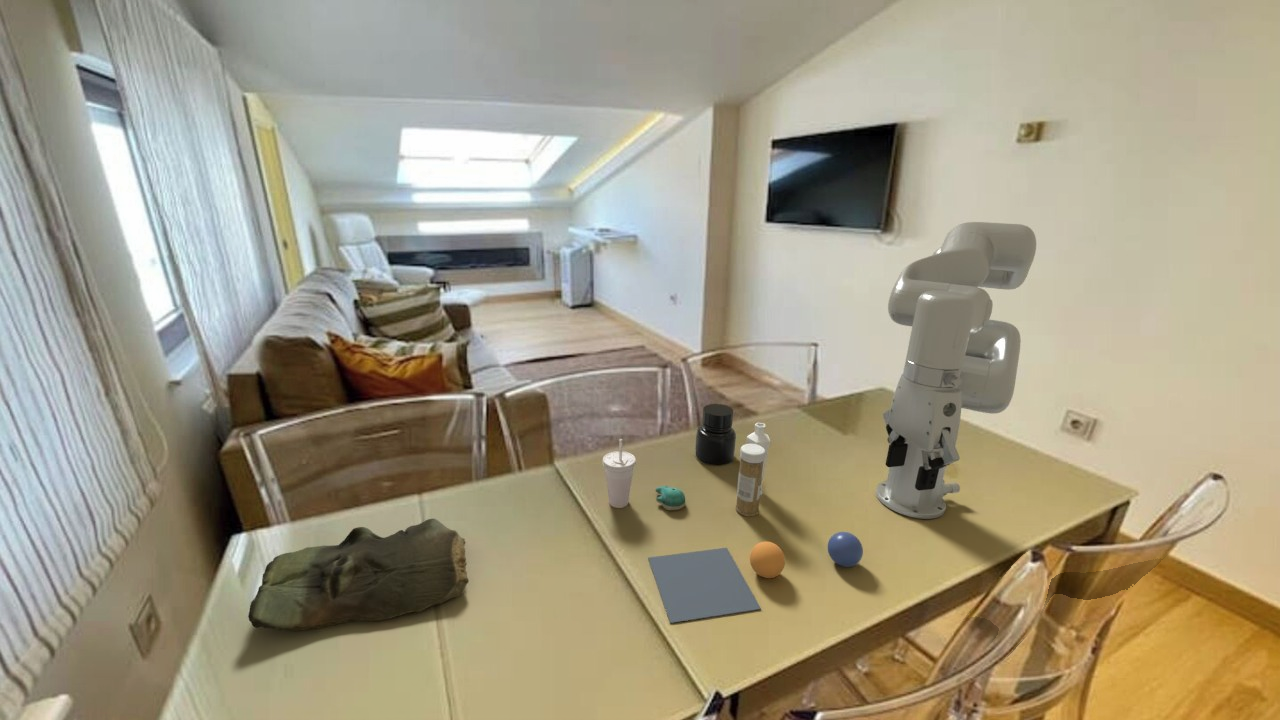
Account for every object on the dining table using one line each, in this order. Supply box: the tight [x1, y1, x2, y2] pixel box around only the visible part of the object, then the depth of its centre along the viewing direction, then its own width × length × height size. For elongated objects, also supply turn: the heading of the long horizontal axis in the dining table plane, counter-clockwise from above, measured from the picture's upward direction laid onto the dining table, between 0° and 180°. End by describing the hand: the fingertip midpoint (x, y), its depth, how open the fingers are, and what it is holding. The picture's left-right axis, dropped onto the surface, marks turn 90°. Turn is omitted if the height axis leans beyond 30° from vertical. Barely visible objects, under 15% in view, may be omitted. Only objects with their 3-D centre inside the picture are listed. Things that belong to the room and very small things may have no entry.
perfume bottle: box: [746, 422, 771, 496], centre depth 106 cm, size 5×4×15 cm
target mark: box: [647, 547, 762, 624], centre depth 83 cm, size 14×14×1 cm
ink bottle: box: [695, 403, 737, 466], centre depth 120 cm, size 10×9×12 cm
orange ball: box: [749, 541, 786, 579], centre depth 84 cm, size 6×6×6 cm
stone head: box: [247, 518, 470, 632], centre depth 81 cm, size 19×8×28 cm
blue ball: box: [827, 531, 864, 568], centre depth 87 cm, size 6×6×6 cm
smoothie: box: [602, 438, 637, 509], centre depth 101 cm, size 6×6×14 cm
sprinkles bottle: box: [735, 443, 765, 517], centre depth 100 cm, size 5×5×14 cm
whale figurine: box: [654, 485, 686, 511], centre depth 104 cm, size 6×7×4 cm
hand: (909, 476), depth 85 cm, fingers open, 6 cm apart
